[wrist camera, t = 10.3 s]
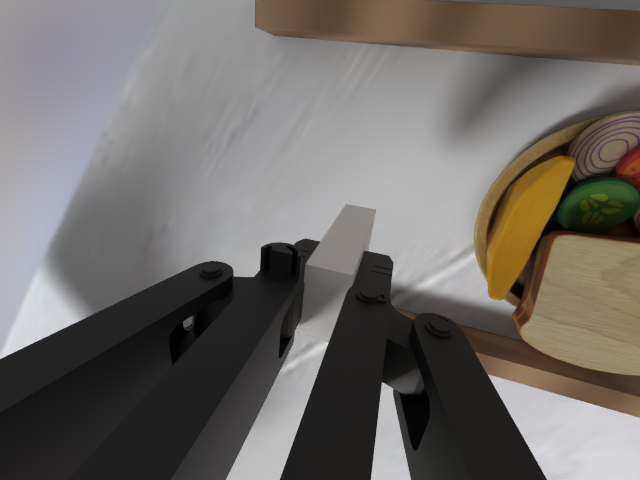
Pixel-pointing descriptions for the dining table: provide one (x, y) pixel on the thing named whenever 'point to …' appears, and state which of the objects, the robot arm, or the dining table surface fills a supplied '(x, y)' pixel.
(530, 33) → the open-ended frame
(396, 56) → the dining table surface
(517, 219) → the toy sandwich meal
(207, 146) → the dining table surface
